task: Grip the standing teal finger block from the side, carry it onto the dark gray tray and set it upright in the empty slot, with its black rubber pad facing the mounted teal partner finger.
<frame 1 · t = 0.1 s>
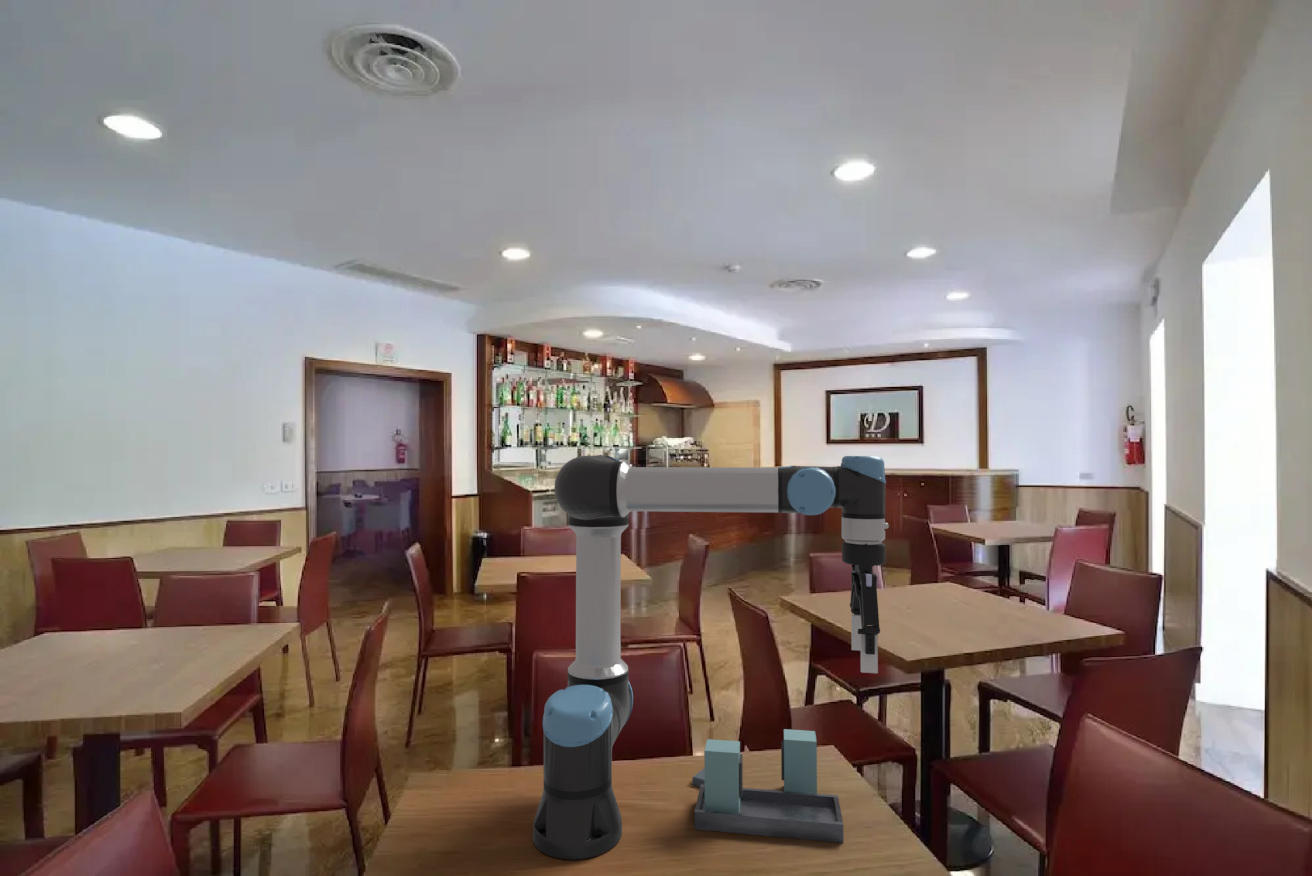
hand: (863, 660, 122), 28 cm above the table, tool pointing down, fingers open, 13 cm apart
dark gray tray: (767, 820, 121), on the table
finger: (800, 793, 131), on the table
bracket: (713, 779, 138), on the table
partner finger: (722, 807, 122), resting on dark gray tray
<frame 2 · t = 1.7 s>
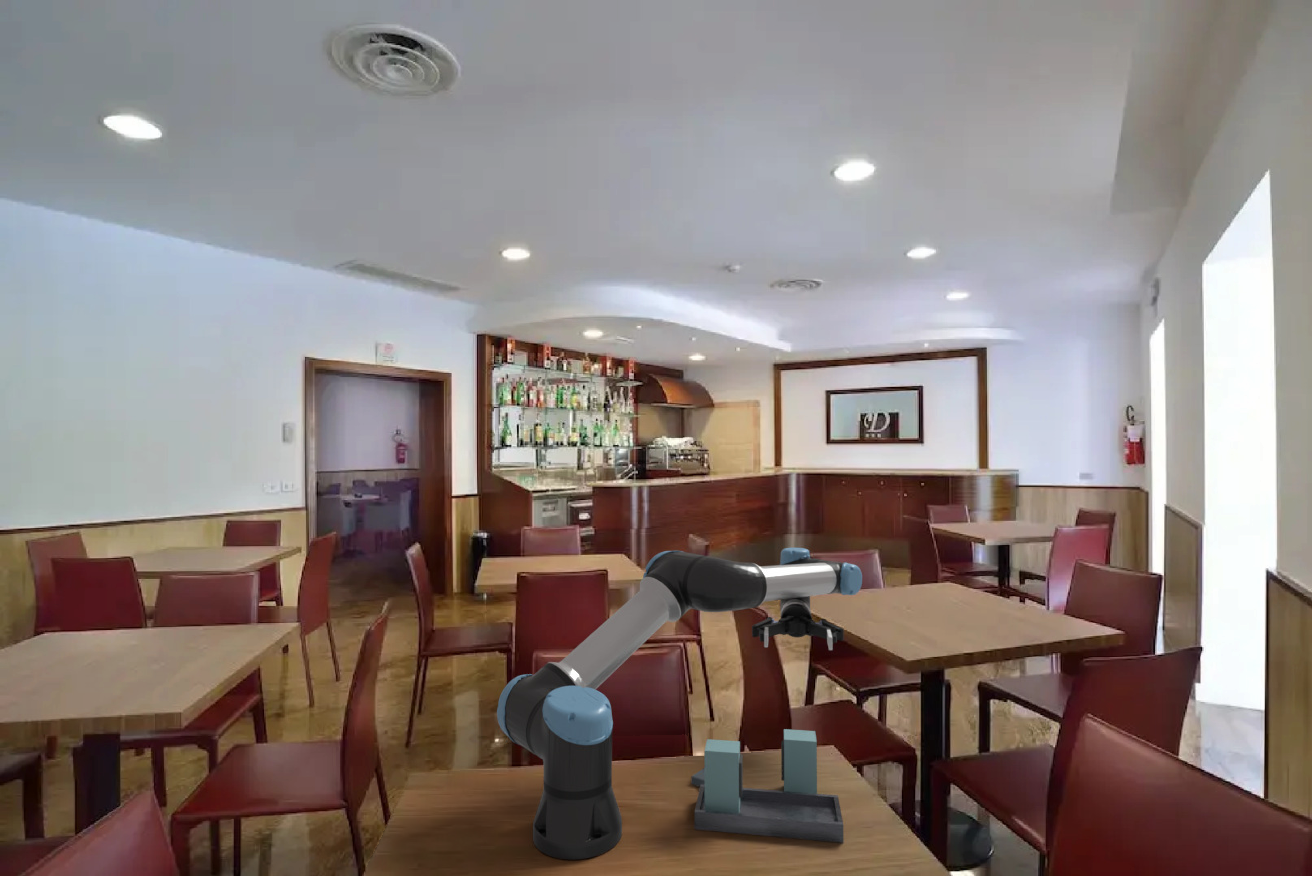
hand: (798, 642, 146), 25 cm above the table, tool horizontal, fingers open, 13 cm apart
nothing on the table moved.
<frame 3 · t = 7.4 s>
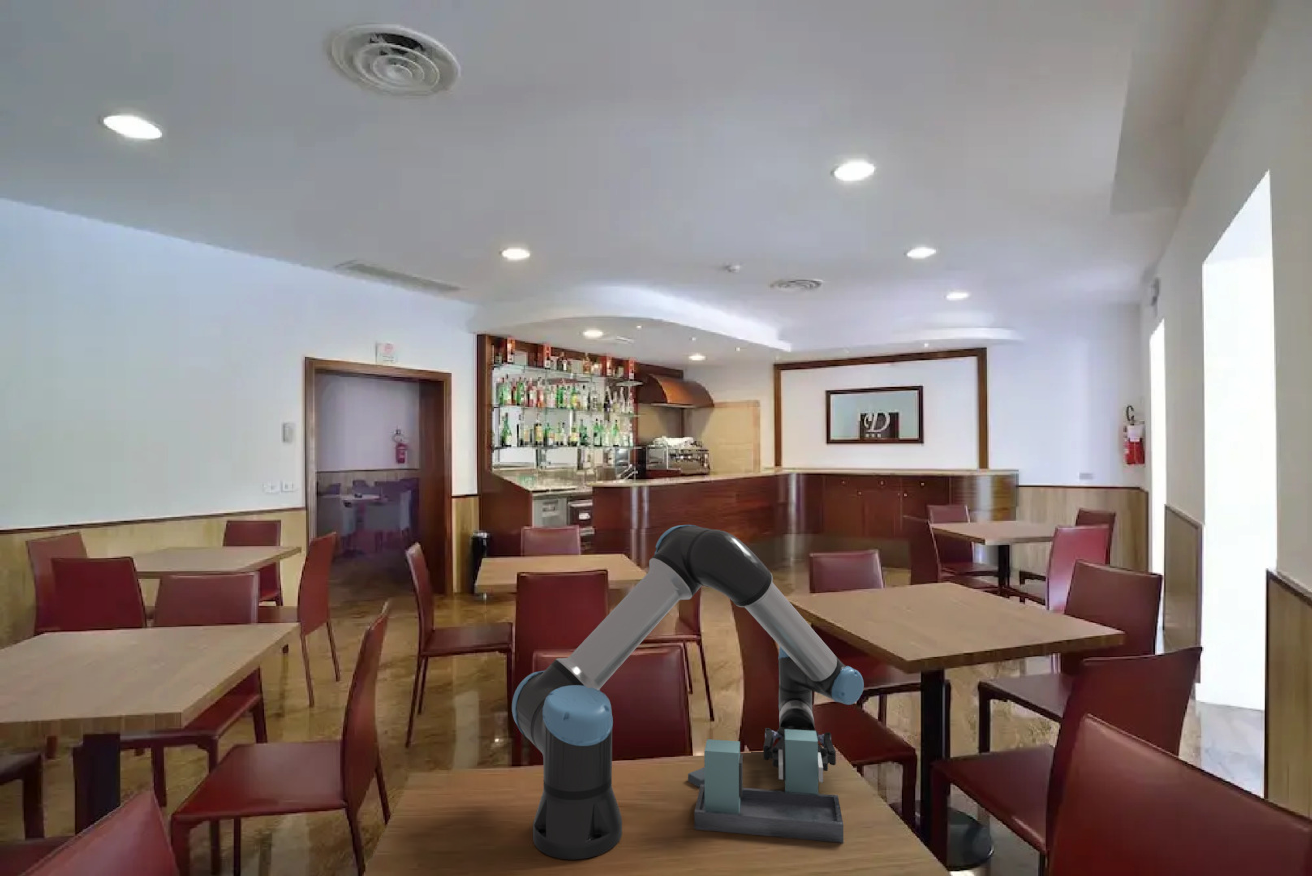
hand: (800, 773, 126), 6 cm above the table, tool horizontal, fingers closed on finger, 6 cm apart
finger: (801, 793, 131), on the table, touching gripper
when the fingers open (8 cm above the table, at t = 12.6 s): finger stays where it is, resting on dark gray tray.
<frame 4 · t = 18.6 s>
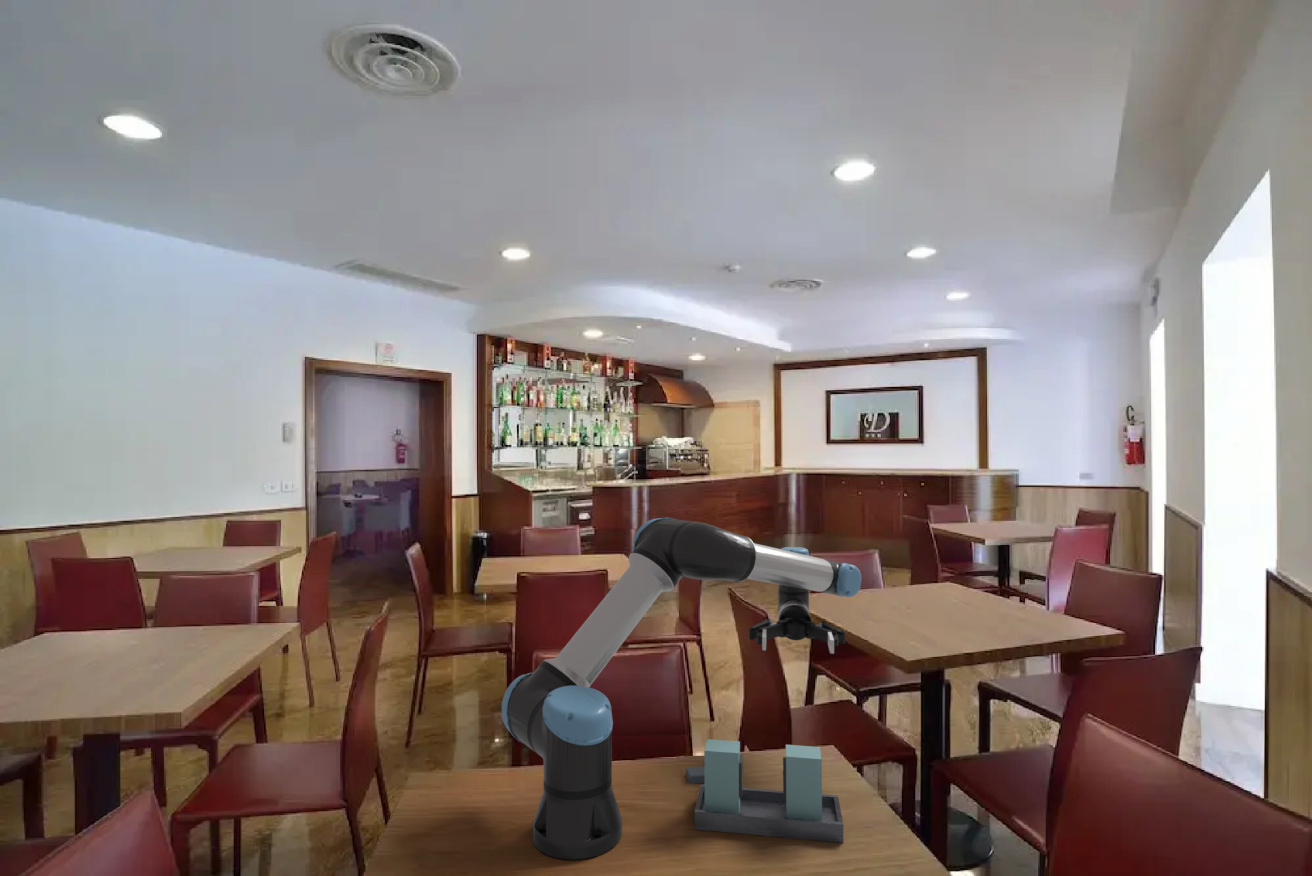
hand: (797, 645, 139), 26 cm above the table, tool horizontal, fingers open, 13 cm apart
finger: (803, 814, 120), point 1 cm above the table, touching dark gray tray
at the end: finger 0.0 cm from the target spot on the dark gray tray, point 1.5 cm above the dark gray tray's base; finger tilted 0°; the gripper is holding nothing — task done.
